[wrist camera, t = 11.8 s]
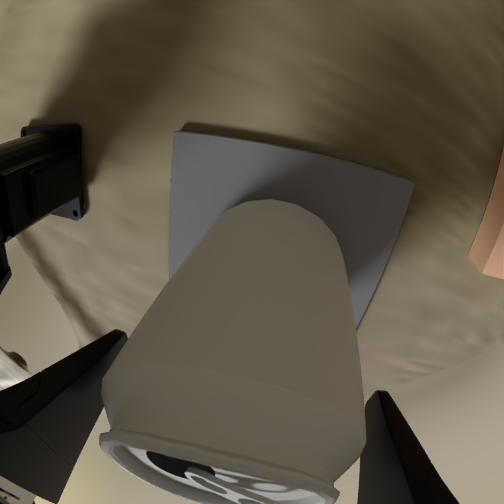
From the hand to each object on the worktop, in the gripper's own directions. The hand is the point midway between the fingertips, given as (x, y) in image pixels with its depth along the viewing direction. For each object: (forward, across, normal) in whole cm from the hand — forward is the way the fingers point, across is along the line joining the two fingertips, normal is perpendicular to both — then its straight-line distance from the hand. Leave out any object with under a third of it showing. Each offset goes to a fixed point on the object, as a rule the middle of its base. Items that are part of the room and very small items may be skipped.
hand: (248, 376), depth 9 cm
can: (+8, 0, 0) cm, 8 cm away
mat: (+8, 0, 0) cm, 8 cm away
